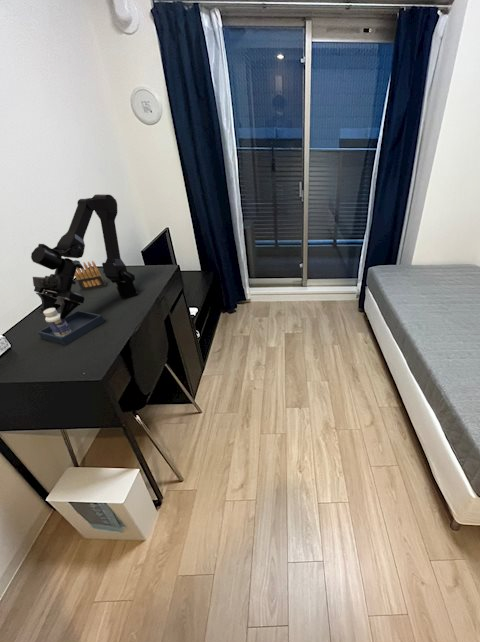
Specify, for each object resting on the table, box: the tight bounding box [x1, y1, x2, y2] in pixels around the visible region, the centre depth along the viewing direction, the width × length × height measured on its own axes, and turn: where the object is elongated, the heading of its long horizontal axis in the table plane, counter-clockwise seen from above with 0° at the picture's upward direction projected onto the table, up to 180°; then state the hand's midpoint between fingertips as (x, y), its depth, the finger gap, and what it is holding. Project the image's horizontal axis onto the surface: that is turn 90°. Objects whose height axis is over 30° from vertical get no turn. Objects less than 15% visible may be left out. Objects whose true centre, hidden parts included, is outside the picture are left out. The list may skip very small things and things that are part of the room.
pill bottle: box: [42, 307, 71, 337], centre depth 120 cm, size 5×5×10 cm
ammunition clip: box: [74, 260, 107, 292], centre depth 152 cm, size 11×2×12 cm, turn 109°
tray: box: [37, 309, 105, 346], centre depth 125 cm, size 17×13×3 cm
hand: (53, 316), depth 118 cm, fingers open, 9 cm apart
